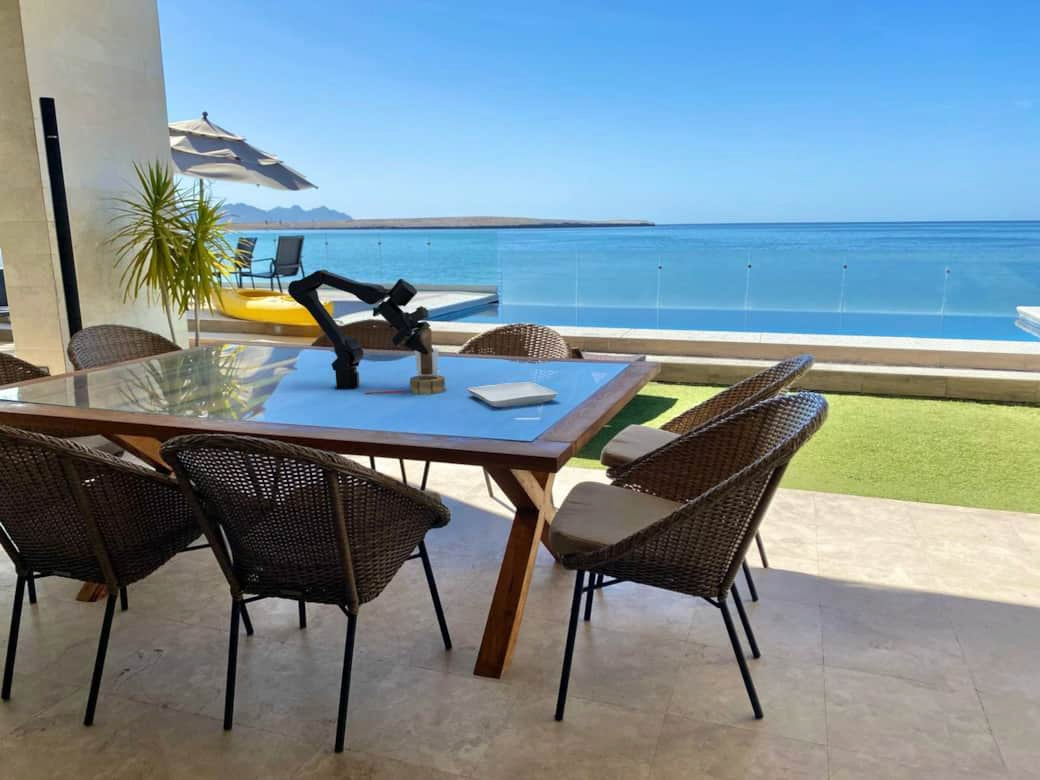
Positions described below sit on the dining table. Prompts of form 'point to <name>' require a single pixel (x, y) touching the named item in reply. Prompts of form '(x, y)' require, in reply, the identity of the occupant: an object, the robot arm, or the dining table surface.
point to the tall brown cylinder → (427, 342)
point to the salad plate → (513, 394)
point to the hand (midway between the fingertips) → (430, 352)
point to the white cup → (434, 362)
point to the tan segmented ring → (427, 384)
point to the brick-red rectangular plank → (385, 391)
